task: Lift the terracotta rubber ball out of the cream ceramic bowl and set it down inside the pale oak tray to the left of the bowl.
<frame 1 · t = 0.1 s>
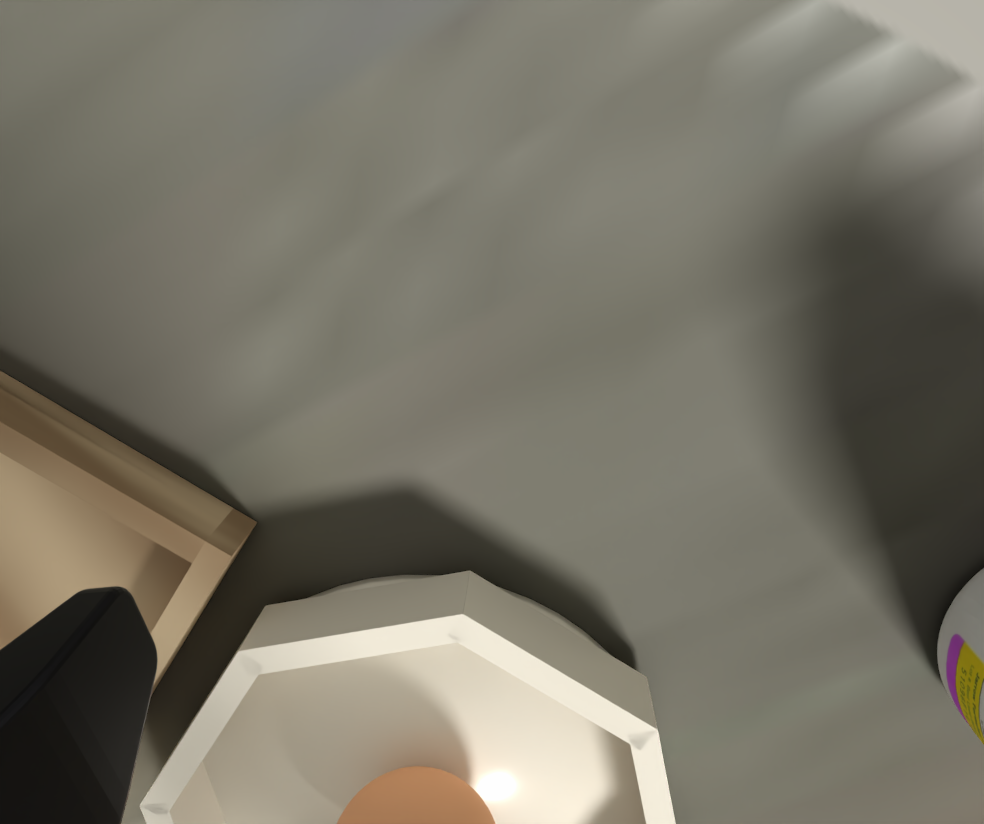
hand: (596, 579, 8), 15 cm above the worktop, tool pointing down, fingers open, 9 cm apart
ball: (426, 797, 27), point 1 cm above the worktop, touching bowl
bowl: (428, 783, 28), on the worktop
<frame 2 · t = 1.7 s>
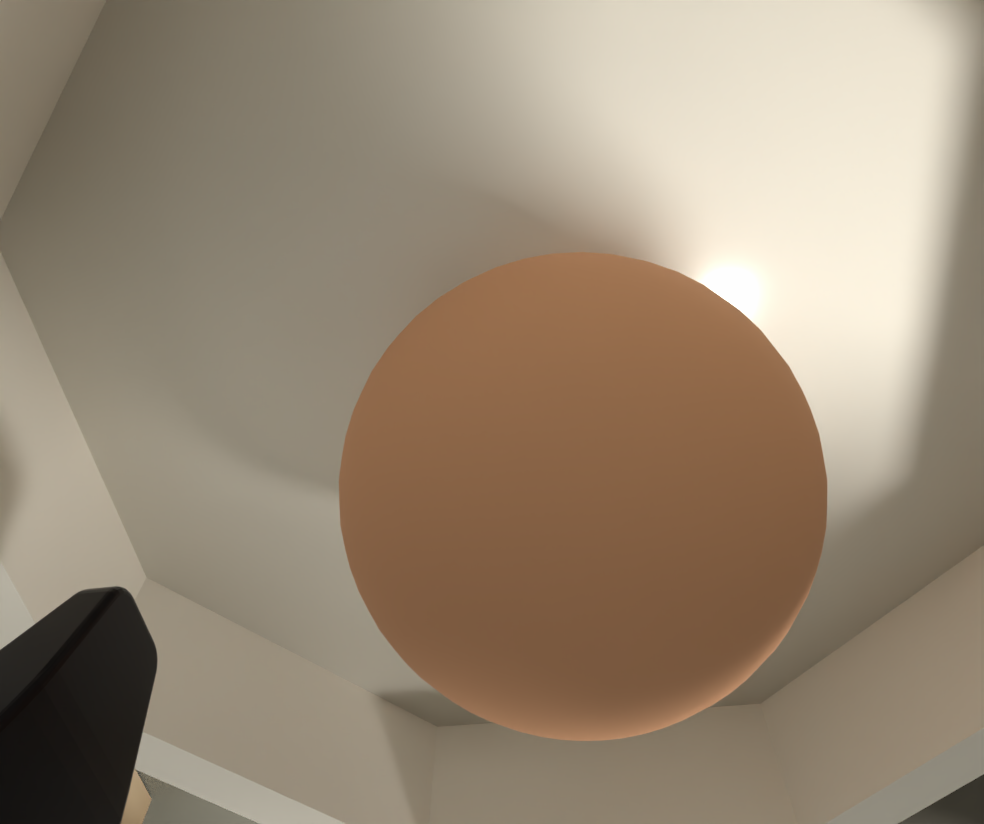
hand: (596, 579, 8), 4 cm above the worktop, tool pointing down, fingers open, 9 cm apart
ball: (563, 376, 11), point 1 cm above the worktop, touching bowl
bowl: (561, 355, 12), on the worktop
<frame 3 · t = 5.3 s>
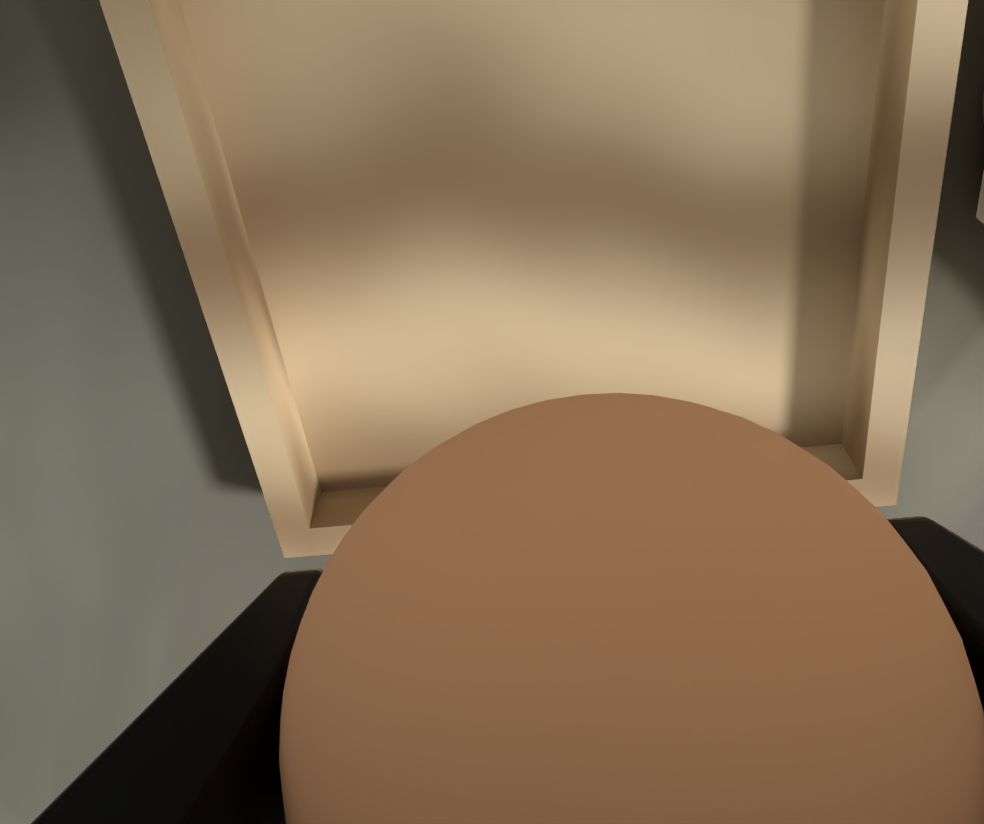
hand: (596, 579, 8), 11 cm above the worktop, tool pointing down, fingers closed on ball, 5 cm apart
ball: (588, 515, 9), point 11 cm above the worktop, touching gripper
tray: (548, 205, 18), on the worktop
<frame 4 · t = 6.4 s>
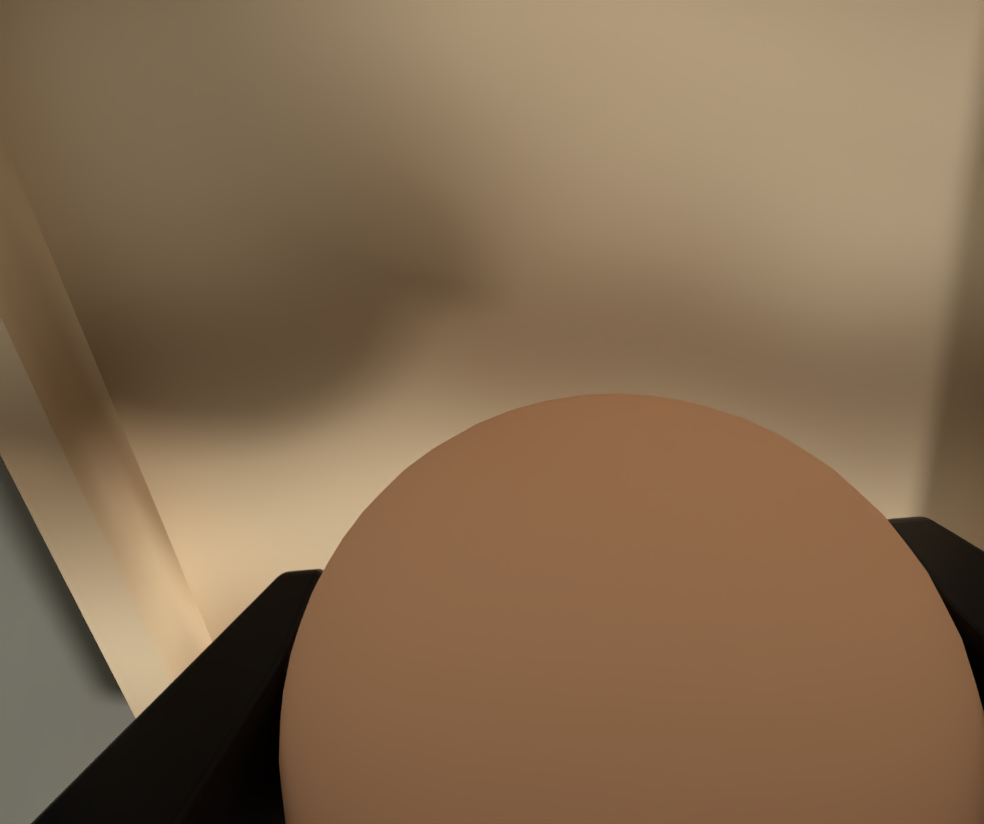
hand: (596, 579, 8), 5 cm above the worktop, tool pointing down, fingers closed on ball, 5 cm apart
ball: (588, 516, 9), point 4 cm above the worktop, touching gripper
tray: (561, 347, 12), on the worktop
when the fingers open (3 cm above the worktop, at t = 7.5 s): ball drops 2 cm, resting on tray.
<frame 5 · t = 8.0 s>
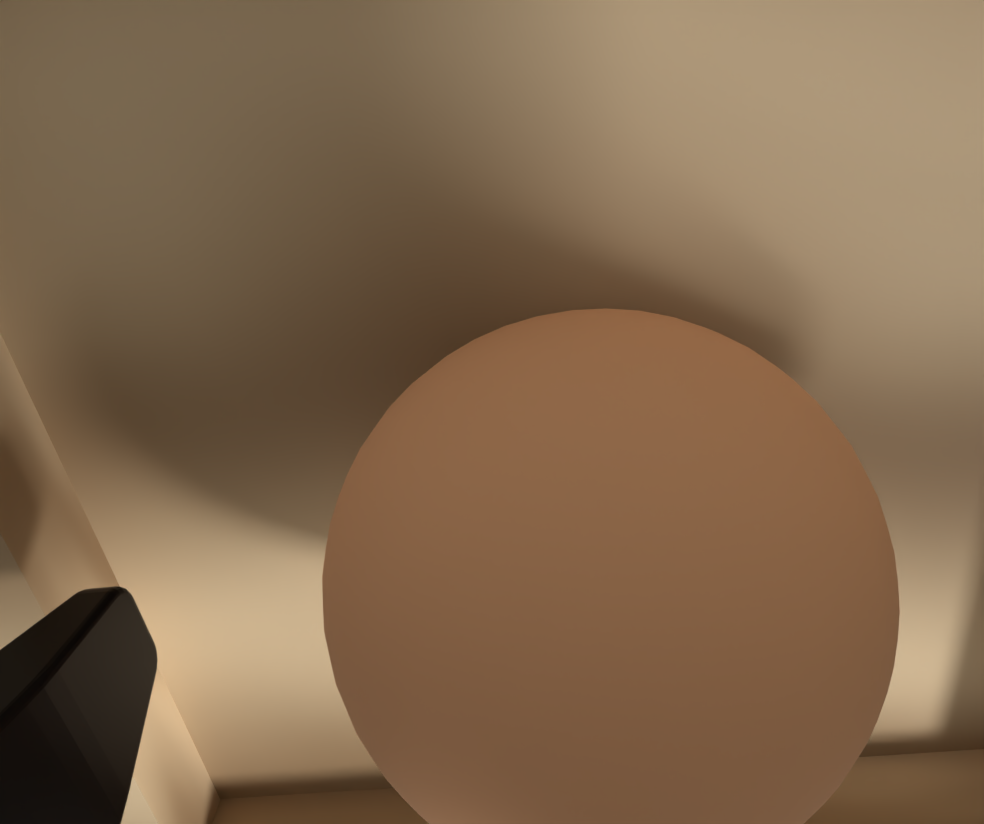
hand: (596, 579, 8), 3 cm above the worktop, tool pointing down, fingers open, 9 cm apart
ball: (578, 435, 10), point 1 cm above the worktop, touching tray
tray: (571, 405, 11), on the worktop
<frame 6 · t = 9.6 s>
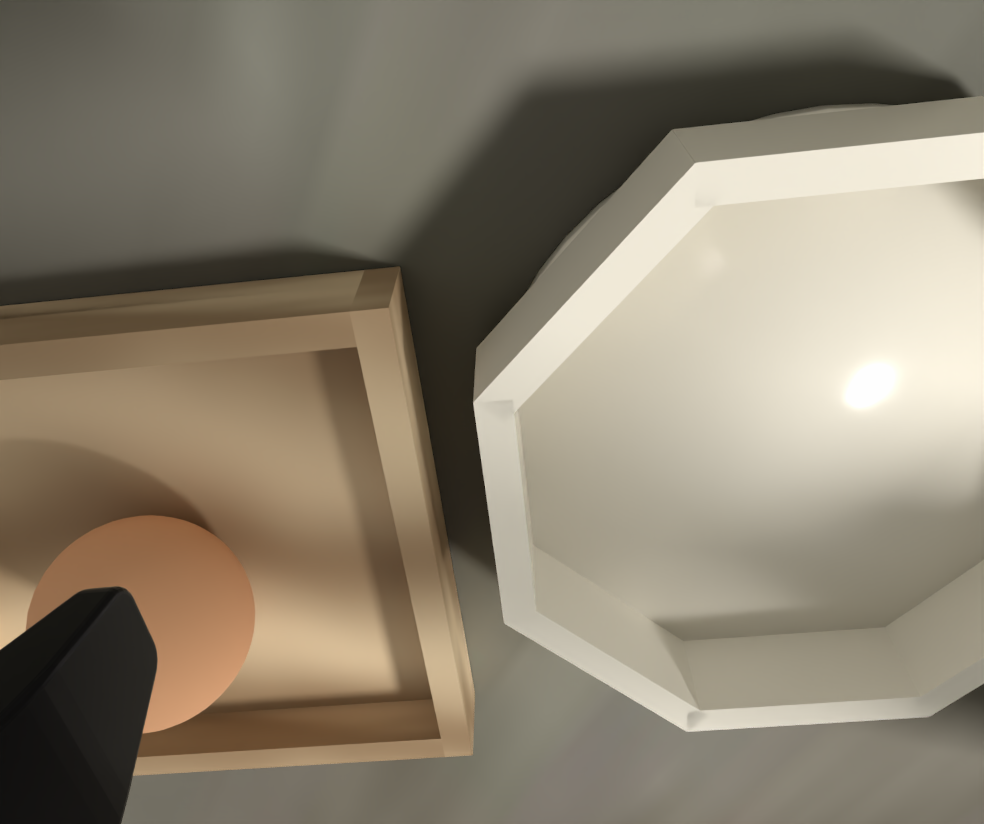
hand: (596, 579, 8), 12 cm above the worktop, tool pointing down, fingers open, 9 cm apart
ball: (177, 551, 22), point 1 cm above the worktop, touching tray
tray: (186, 534, 23), on the worktop
bowl: (795, 421, 21), on the worktop
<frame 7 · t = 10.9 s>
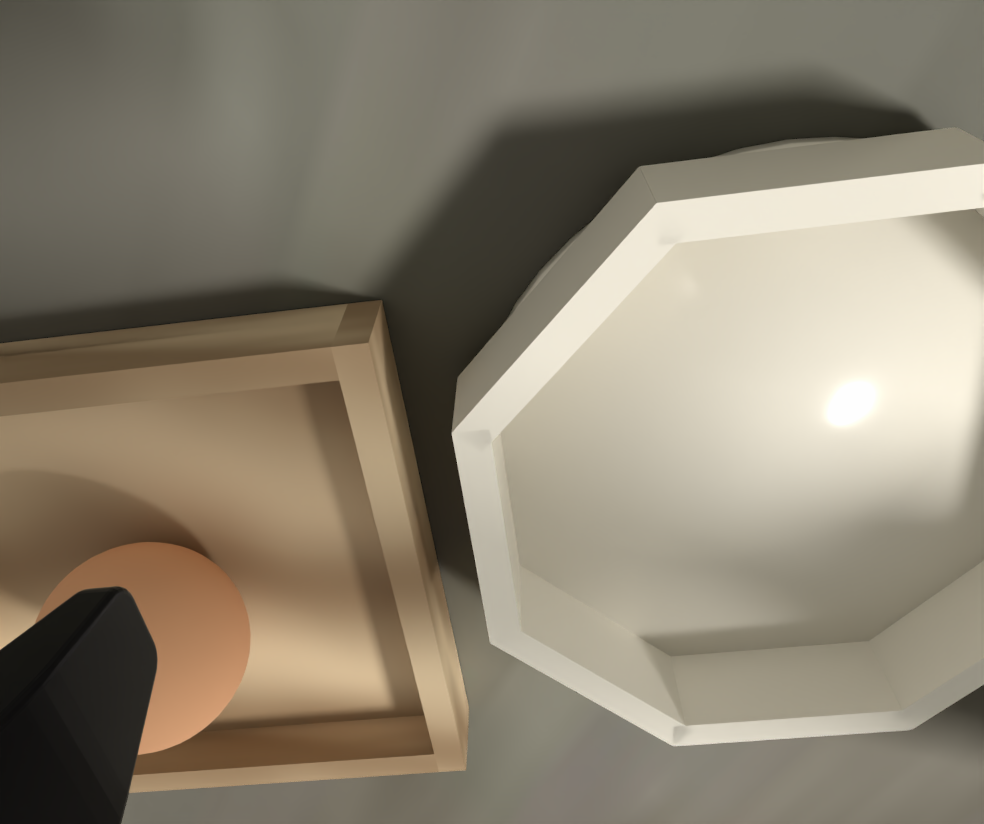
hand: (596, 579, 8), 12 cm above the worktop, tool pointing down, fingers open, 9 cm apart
ball: (174, 575, 23), point 1 cm above the worktop, touching tray
tray: (184, 558, 24), on the worktop
bowl: (772, 442, 21), on the worktop
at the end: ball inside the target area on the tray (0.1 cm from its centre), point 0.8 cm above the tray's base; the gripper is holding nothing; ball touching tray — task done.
